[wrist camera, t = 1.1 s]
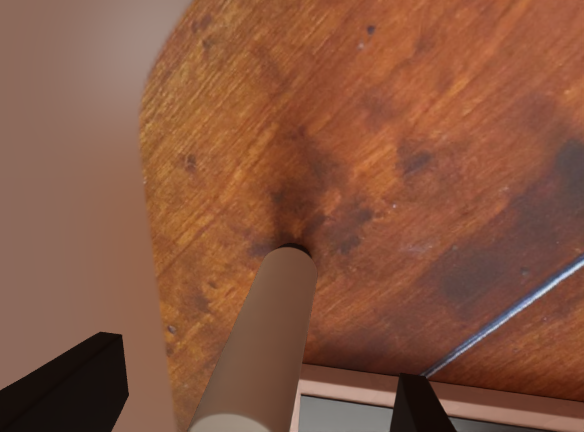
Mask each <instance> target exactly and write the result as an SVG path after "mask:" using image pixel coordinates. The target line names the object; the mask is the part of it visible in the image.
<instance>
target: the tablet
mask: <svg viewBox="0 0 584 432" xmlns="http://www.w3.org/2000/svg"><path fill="white" fill-rule="evenodd" d="M398 380H399V377H396V376H388V375H381V374H374V373H367V372H359V371H352V370H345V369H338V368H330V367H323V366H316V365H309V364H302V366H301V372H300V377H299V383H298V388H297V394H296V399H295V405H294V410H293V416H292V421H291V427H290V432H389V431H390V425H391V419H392V414H393V408H394V402H395V397H396V391H397V385H398ZM429 382H430V384H431V386H432V388H433V390H434V392H435V394H436V395H437V397H438V399H439V401H440V403H441V405H442V406H443V408H444V410H445V412H446V413H447V415H448V417H449V419H450V420H451V422H452V424H453V426H454V427H455V429H456V431H457V432H584V402H577V401H570V400H562V399H555V398H548V397H541V396H533V395H526V394H519V393H512V392H504V391H497V390H490V389H483V388H475V387H468V386H461V385H454V384H446V383H439V382H432V381H429Z"/></svg>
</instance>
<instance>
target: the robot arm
mask: <svg viewBox="0 0 584 432" xmlns="http://www.w3.org/2000/svg"><path fill="white" fill-rule="evenodd" d="M128 396H129V392H128V384H127V375H126V365H125V357H124V348H123V340H122V335H121V334H113V333H106V332H99V333H97V334H95V335H93V336H92V337H90V338H88V339H86V340H85V341H83V342H81V343H80V344H78V345H76V346H75V347H73V348H71V349H70V350H68V351H66V352H65V353H63V354H62V355H60V356H58V357H57V358H55V359H54V360H52V361H50V362H48V363H47V364H45V365H43V366H42V367H40V368H38V369H37V370H35V371H33V372H32V373H30V374H28V375H27V376H25V377H23V378H21V379H20V380H18V381H16V382H14V383H13V384H11V385H9V386H7V387H5V388H3V389H2V390H0V432H111V431H112V429H113V427H114V425H115V423H116V421H117V419H118V417H119V415H120V413H121V411H122V409H123V407H124V404H125V402H126V400H127V398H128ZM389 432H457V431H456V429H455V427H454V426H453V424H452V422H451V420H450V419H449V417H448V415H447V413H446V412H445V410H444V408H443V406H442V405H441V403H440V401H439V399H438V397H437V395H436V394H435V392H434V390H433V388H432V386H431V384H430V382H429V380H428V379H427V378H426V377H425V376H419V375H411V374H404V373H400V374H399V380H398V385H397V391H396V397H395V402H394V408H393V414H392V419H391V425H390V431H389Z"/></svg>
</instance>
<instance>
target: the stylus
mask: <svg viewBox="0 0 584 432" xmlns="http://www.w3.org/2000/svg"><path fill="white" fill-rule="evenodd" d="M317 277H318V273H317V268H316V265H315V263H314V262H313V260H312V258H311V255H310V253H309V252H308V251H307V250H306V249H305V248H304V247H303V246H301V245H298V244H294V243H289V244H284V245H282V246H280V247H279V248H278V249H275V250H273V251H271V252H270V253H269V254H268V255H266V257H265V258H264V259H263V261H262V263H261V266H260V268H259V270H258V272H257V275H256V277H255V279H254V281H253V284H252V286H251V288H250V290H249V293H248V295H247V297H246V299H245V302H244V304H243V306H242V308H241V311H240V313H239V315H238V317H237V320H236V322H235V324H234V326H233V329H232V331H231V333H230V335H229V338H228V340H227V342H226V344H225V347H224V349H223V351H222V353H221V356H220V358H219V360H218V362H217V365H216V367H215V369H214V371H213V374H212V376H211V378H210V380H209V383H208V385H207V387H206V389H205V392H204V394H203V396H202V398H201V401H200V403H199V405H198V407H197V410H196V412H195V414H194V416H193V419H192V421H191V423H190V425H189V428H188V430H187V432H290V427H291V421H292V416H293V410H294V405H295V399H296V394H297V388H298V383H299V377H300V372H301V366H302V361H303V355H304V350H305V344H306V338H307V333H308V327H309V322H310V316H311V311H312V305H313V300H314V294H315V289H316V283H317Z"/></svg>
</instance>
